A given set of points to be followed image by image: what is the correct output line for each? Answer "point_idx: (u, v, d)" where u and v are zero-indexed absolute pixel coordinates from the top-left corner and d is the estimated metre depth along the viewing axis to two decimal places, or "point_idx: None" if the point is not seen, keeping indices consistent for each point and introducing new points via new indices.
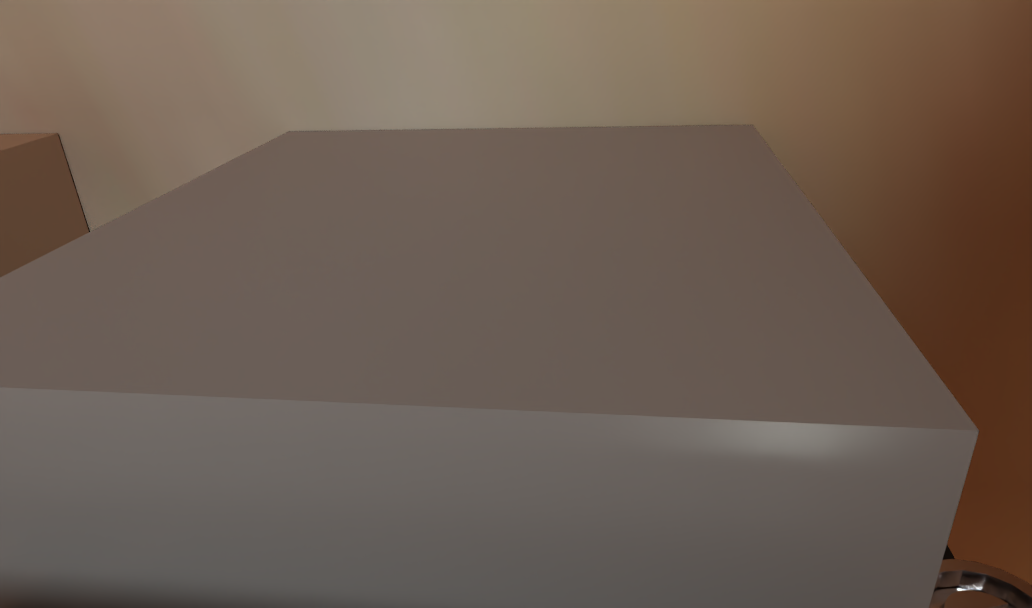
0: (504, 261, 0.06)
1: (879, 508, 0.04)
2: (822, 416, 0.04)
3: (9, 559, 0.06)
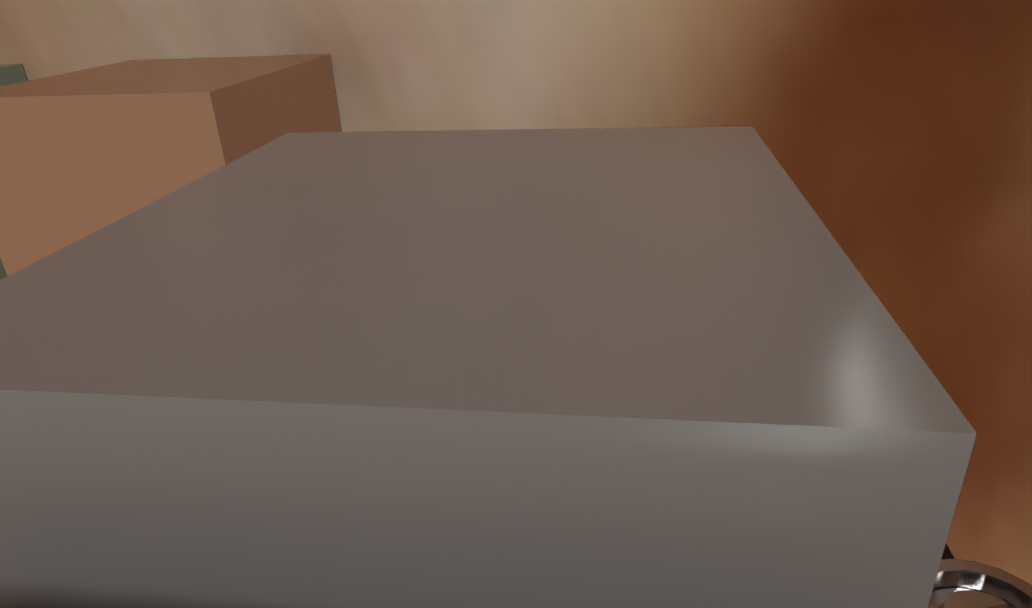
0: (504, 262, 0.06)
1: (877, 510, 0.04)
2: (820, 418, 0.04)
3: (11, 561, 0.06)
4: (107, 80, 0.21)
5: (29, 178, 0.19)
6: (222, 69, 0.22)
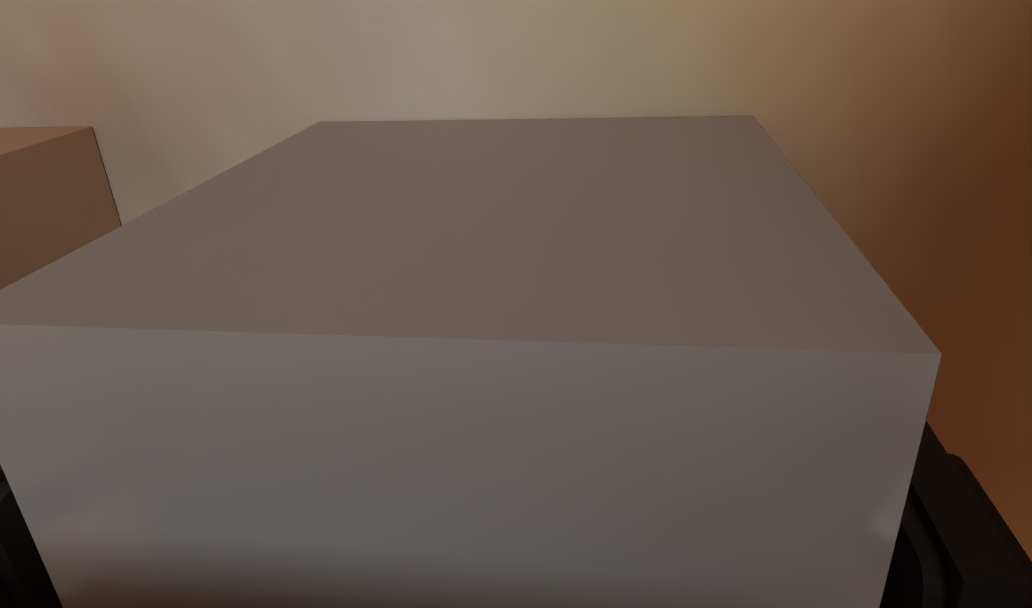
0: (535, 229, 0.07)
1: (861, 422, 0.05)
2: (813, 344, 0.05)
3: (108, 484, 0.06)
4: None
5: None
6: None
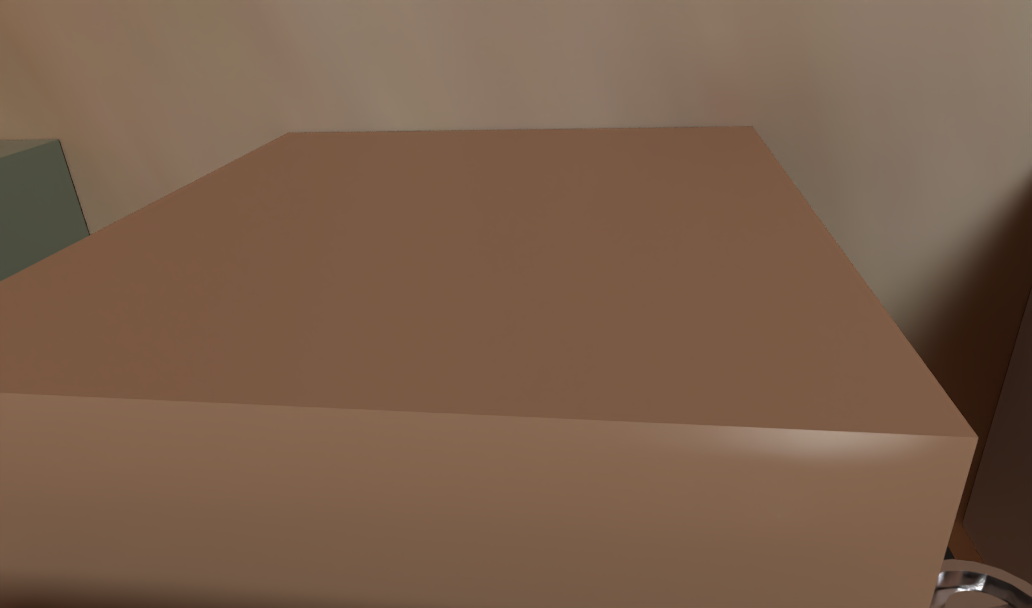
0: None
1: None
2: None
3: None
4: (338, 249, 0.07)
5: None
6: (608, 193, 0.08)
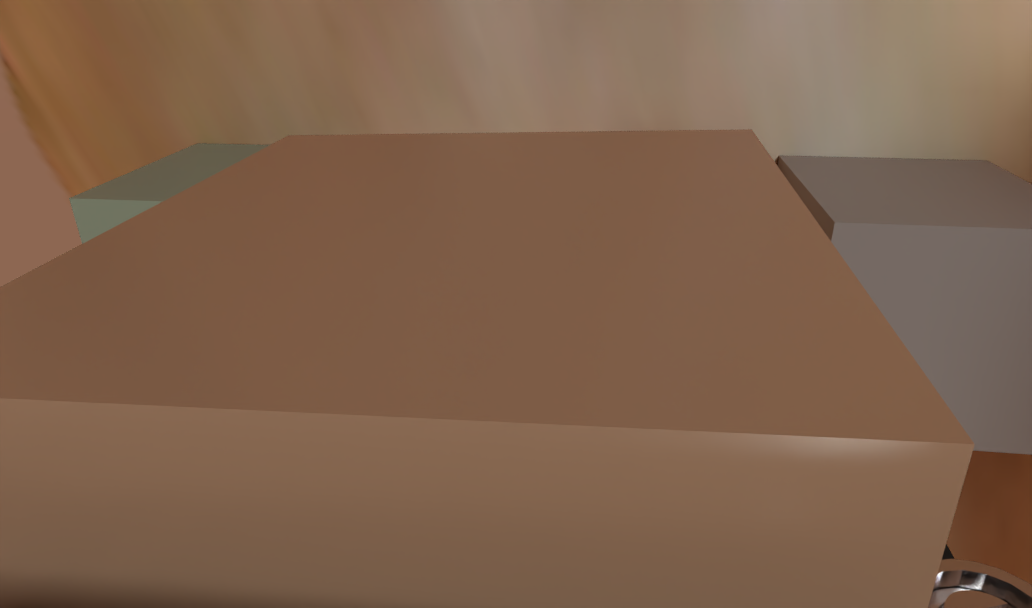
0: (969, 203, 0.22)
1: None
2: None
3: (861, 274, 0.21)
4: (339, 253, 0.07)
5: None
6: (608, 197, 0.08)
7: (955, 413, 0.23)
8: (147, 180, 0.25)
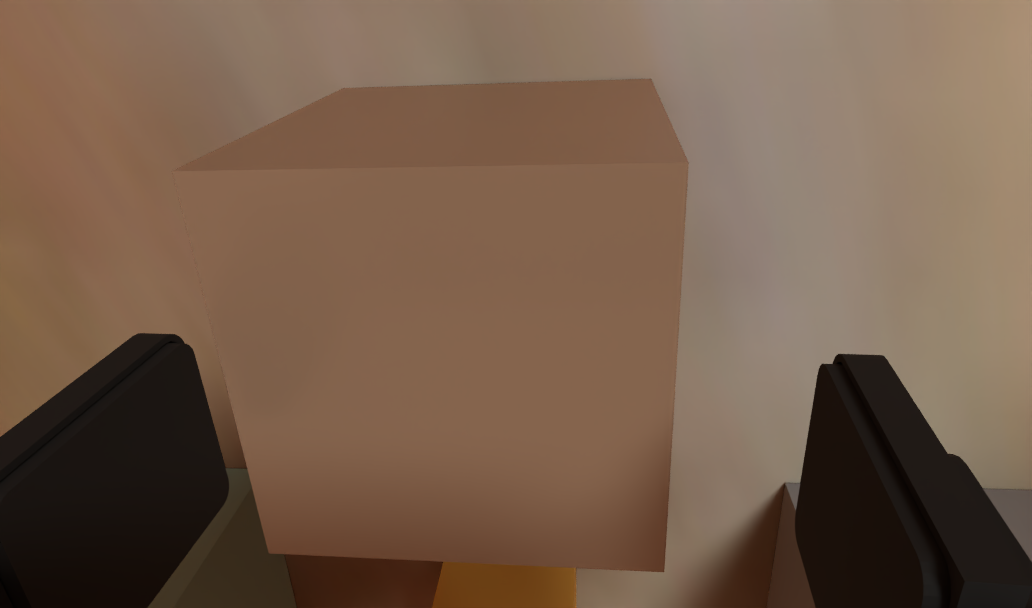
0: None
1: None
2: None
3: None
4: (405, 129, 0.13)
5: (311, 301, 0.11)
6: (554, 107, 0.14)
7: None
8: None
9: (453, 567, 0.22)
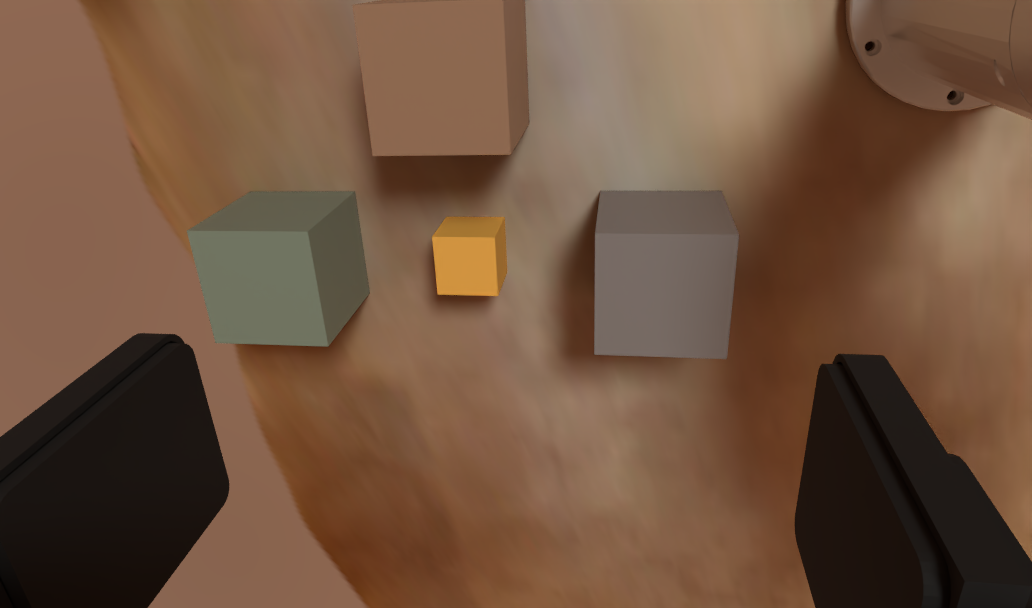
0: (679, 219, 0.40)
1: (730, 244, 0.38)
2: (723, 234, 0.38)
3: (613, 260, 0.39)
4: None
5: (392, 49, 0.36)
6: None
7: (678, 336, 0.41)
8: (227, 218, 0.44)
9: (444, 227, 0.46)
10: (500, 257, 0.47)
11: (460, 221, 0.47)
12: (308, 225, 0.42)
